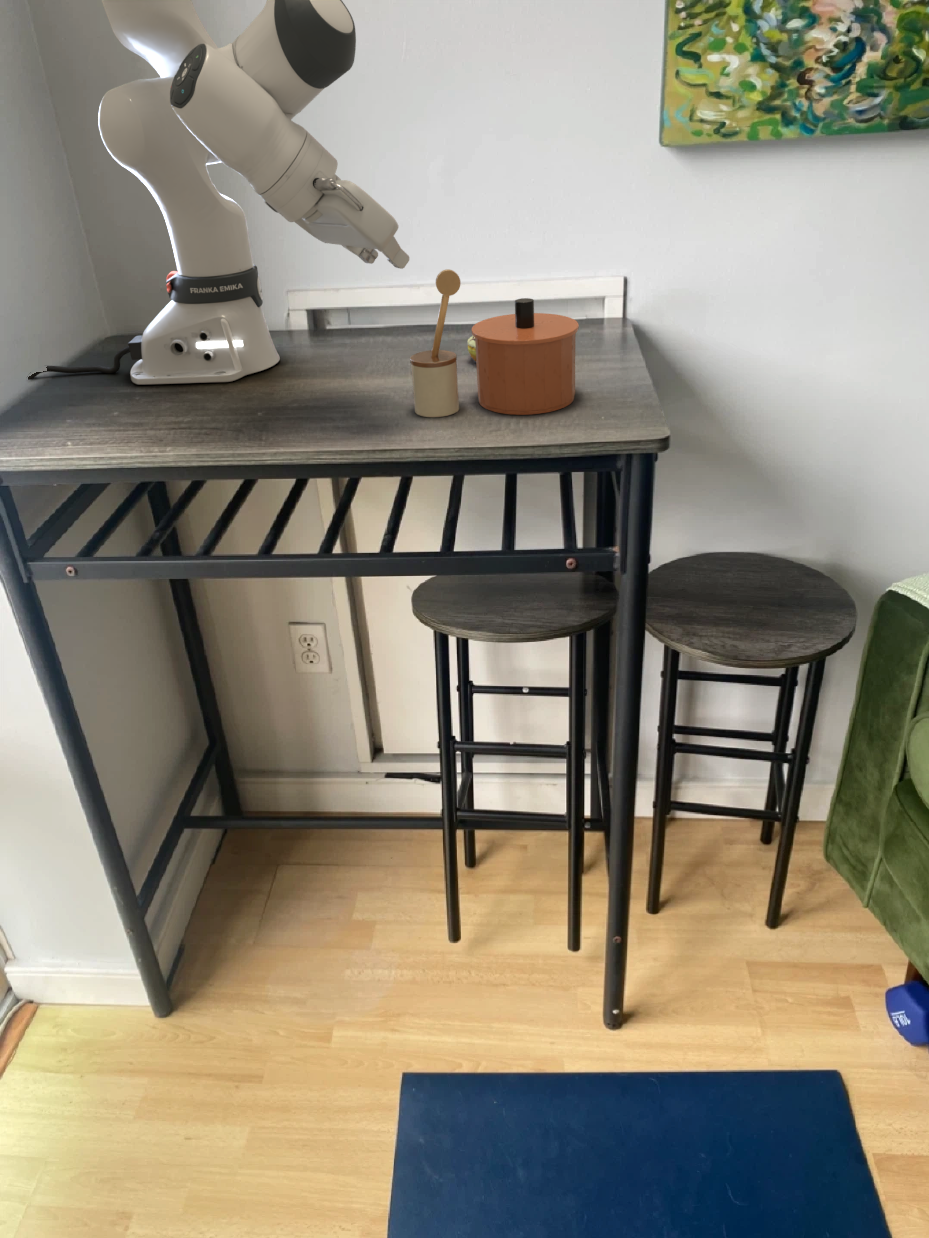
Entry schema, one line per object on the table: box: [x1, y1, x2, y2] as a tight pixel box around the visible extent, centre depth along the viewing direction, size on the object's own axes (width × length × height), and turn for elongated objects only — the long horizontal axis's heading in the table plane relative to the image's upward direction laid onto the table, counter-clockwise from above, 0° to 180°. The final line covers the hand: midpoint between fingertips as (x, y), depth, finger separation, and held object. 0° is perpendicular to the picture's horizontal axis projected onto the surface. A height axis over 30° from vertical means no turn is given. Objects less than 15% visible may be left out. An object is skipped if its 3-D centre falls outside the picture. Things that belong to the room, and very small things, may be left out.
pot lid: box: [471, 297, 579, 345], centre depth 119 cm, size 14×14×4 cm
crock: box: [409, 268, 462, 418], centre depth 119 cm, size 7×6×17 cm
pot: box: [475, 332, 577, 416], centre depth 122 cm, size 13×13×9 cm
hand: (388, 261), depth 116 cm, fingers open, 8 cm apart
